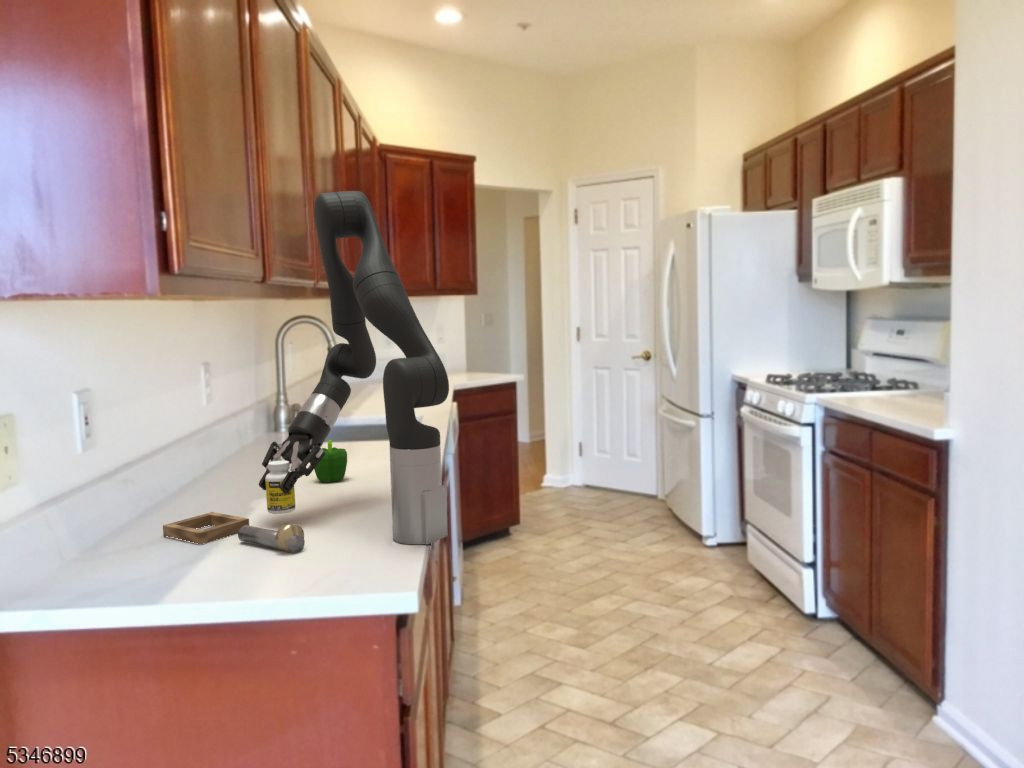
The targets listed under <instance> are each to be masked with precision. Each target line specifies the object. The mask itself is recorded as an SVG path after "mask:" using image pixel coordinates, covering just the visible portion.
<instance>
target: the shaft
mask: <svg viewBox="0 0 1024 768" xmlns="http://www.w3.org/2000/svg"><path fill="white" fill-rule="evenodd" d="M237 537H238V539H239V541H240V542H243V543H249V544H253V545H257V546H262V547H267V548H271V549H272V548H273V549H276V550H280V551H284V552H289V553H295V554H299V553H300V552H302V551H303V549H304V548H305V541H306V539H305V531H304V529H303V527H302V526H301V525H299V524H296V523H291V522H287V523H283V524H281V525H280V526H279V528H278V529H277V530H273V529H268V528H263V527H258V526H254V525H253V526H252V525H249V526H248V525H244V526H242V527H241V528H240V530H239V532H238V534H237ZM298 552H299V553H298Z"/></svg>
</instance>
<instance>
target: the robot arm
mask: <svg viewBox="0 0 1024 768" xmlns="http://www.w3.org/2000/svg"><path fill="white" fill-rule="evenodd" d="M313 214H314V215H313V216H314V223H315V229H316V234H317V239H318V244H319V250H320V253H321V254H320V256H321V259H322V263H323V268H324V269H323V270H324V273H325V276H326V281H327V286H328V292H329V299H330V313H331V324H332V330H333V332H334V333H335V335H337V336H339V337H341V338H343V339H345V340H346V342H347V343H344V342H340V343H339V342H338V343H337V344H335V345H333V346H332V347H331V348H330V349H329V350H328V352H327V355H326V358H325V361H324V365H323V369H322V372H321V376H320V379H319V381H318V383H317V385H316V386H315V388H314V389H313V391H312V392H311V394H310V395H309V396H308V398H307V399H306V400H305V401H304V403H303V404H302V406H301V407H300V408H299V411H298V412H297V414H296V416H295V417H294V418H293V420H292V422H291V423H290V425H289V426H288V429H287V431H288V432H287V433H288V436H287V437H286V439H284V441H283V442H282V443H278V442H276V441H272V442H271V443H270V446H269V447H268V450H267V451H266V454H265V456H264V459H263V461H262V463H261V465H262V467H264V468H265V472H264V473H263V475H262V477H261V478H260V480H259V482H258V486H259V488H261V489H262V490H263V491H266V481H265V478H266V475H267V474H269V473H270V471H269V469H268V463H269V462H273V461H289V466H290V468H289V470H290V471H289V472H288V473H287V475H286V477H285V478H284V480H283V482H282V483H281V485H280V489H281V490H282V491H283V492H284V493H289V492H290V490H291V489H292V488H293V486H294V487H295V485H296V482H297V481H298V479H300V478H302V477H304V476H305V477H309V476H310V475H311V474H312V472H313V471H315V470H314V468H315V467H316V466H317V465H318V463H319V462H320V461H321V459H322V458H323V457H324V455H325V452H324V451H323V450H322V448H321V447H322V446H323V444H324V443H325V441H326V439H327V438H328V437H329V436H328V435H329V433H330V432H331V430H332V429H333V427H335V426H334V425H335V424H336V422H337V420H338V419H339V418H338V417H339V415H340V413H341V412H342V409H343V407H344V406H345V404H346V403H347V401H348V399H349V398H350V396H351V392H352V388H351V386H350V384H349V383H348V381H346V380H345V379H344V378H343V377H350V378H354V379H368V378H369V377H371V376H372V375H373V373H374V372H375V370H376V366H377V354H376V351H375V350H376V349H375V348H374V344H373V342H372V339H371V336H370V333H369V330H368V328H367V327H368V326H367V323H366V320H367V321H368V322H369V324H370V325H372V326H373V327H374V328H375V329H377V330H378V331H379V332H381V333H382V334H383V335H384V336H385V337H386V338H388V339H389V340H390V341H392V342H393V344H395V345H396V346H397V347H398V348H399V350H400V351H401V352H402V353H403V355H404V357H401V358H400V357H399V358H392V359H391V360H389V361H388V362H387V363H386V365H385V368H384V370H383V376H382V391H383V400H384V402H383V404H384V411H385V412H384V413H385V414H384V415H385V423H386V424H385V426H386V431H387V434H388V440H389V465H390V466H389V467H390V471H389V472H390V493H391V495H390V496H391V519H392V539H393V541H395V542H396V543H400V544H403V545H404V544H407V545H419V544H420V545H421V544H422V545H429V544H433V543H434V542H438V541H439V540H441V539H444V538H446V537H448V536H449V535H448V533H449V532H448V507H447V506H448V502H447V501H448V500H447V498H448V497H447V496H448V495H447V486H446V485H444V484H442V455H441V454H442V452H441V450H442V449H441V432H440V430H439V429H438V428H437V427H435V426H432V425H428V424H424V423H422V422H420V421H419V420H418V419H417V417H416V411H415V409H422V408H429V407H434V406H435V407H436V406H439V405H441V404H443V403H444V402H445V401H446V400H447V398H448V397H449V392H450V383H449V377H448V373H447V370H446V368H445V366H444V363H443V361H442V359H441V358H440V356H439V354H438V353H437V350H436V349H435V347H434V346H433V344H432V342H431V341H430V338H429V337H428V335H427V333H426V331H425V330H424V328H423V326H422V325H421V322H420V320H419V318H418V315H417V314H416V313H415V310H414V308H413V305H412V303H411V300H410V298H409V296H408V293H407V291H406V289H405V287H404V284H403V282H402V280H401V277H400V275H399V273H398V271H397V269H396V267H395V265H394V263H393V261H392V259H391V257H390V254H389V252H388V250H387V248H386V244H385V242H384V240H383V236H382V234H381V231H380V228H379V225H378V221H377V219H376V215H375V212H374V210H373V207H372V205H371V203H370V200H369V198H368V197H367V196H366V194H365V193H363V192H362V191H358V190H345V191H343V190H342V191H330V192H329V191H327V192H322V193H319V194H318V195H317V196H316V197H315V199H314V203H313ZM344 238H345V239H346V238H358V239H359V240H360V242H361V245H362V250H361V254H360V258H359V261H358V262H357V266H356V268H355V271H354V275H353V274H352V273H351V272H350V271H349V269H348V268H347V266H346V264H345V263H344V262H343V260H342V258H341V256H340V254H339V253H340V252H339V250H338V246H337V240H338V239H344ZM281 458H282V459H283V460H282V459H281ZM308 464H309V465H308ZM307 466H308V467H307Z"/></svg>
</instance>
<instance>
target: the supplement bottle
mask: <svg viewBox="0 0 1024 768" xmlns="http://www.w3.org/2000/svg"><path fill="white" fill-rule="evenodd" d="M268 469H269V471H270V473H269V474H267V475H266V478H265V481H266V490H265V495H266V510H267V512H268V513H269V514H272V515H279V514H281V515H282V514H287V513H292V512H293V511H295V510H296V494H295V490H296V489H295V485H294V486H293V488H292V489H291V490H290V492H289V493H284V492H283V491H282V490H281V489H280V485H281V483H282V482H283V480H284V478H285V477H286V475H287V473H288V472H290V471H289V470H290V465H289V461H285V460H282V461H273V462H271V461H269V463H268Z"/></svg>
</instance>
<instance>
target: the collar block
mask: <svg viewBox="0 0 1024 768" xmlns="http://www.w3.org/2000/svg"><path fill="white" fill-rule="evenodd" d="M208 525H211V526H208ZM212 525H215V526H212ZM244 525H248V526H250V519H249V518H247V517H242V516H235V515H232V514H231V515H230V514H224V513H220V512H215V511H211V512H210V511H209V512H208V513H207V512H206V513H204V514H200V515H195V516H192V517H188V518H185V519H182V520H177V521H174V522H171V523H167V524H163V525H162V532H163V533H162V534H163V535H162V536H168V537H174V538H178V539H182V540H186V541H190V542H194V543H198V544H202V545H204V544H203V543H205V544H208V543H207V542H209V543H211V542H210V541H212V542H214V541H213V540H215V541H217V540H216V539H218V540H221V539H220V538H222V539H224V538H223V537H225V538H228V537H230V535H231V536H234V535H238V532H239V530H240V528H241V527H242V526H244ZM204 526H208V528H207V527H206V528H205V527H204ZM201 527H204V529H203V528H201ZM196 528H201V529H196ZM227 536H228V537H227ZM194 543H193V544H194ZM198 544H197V545H198Z"/></svg>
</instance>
